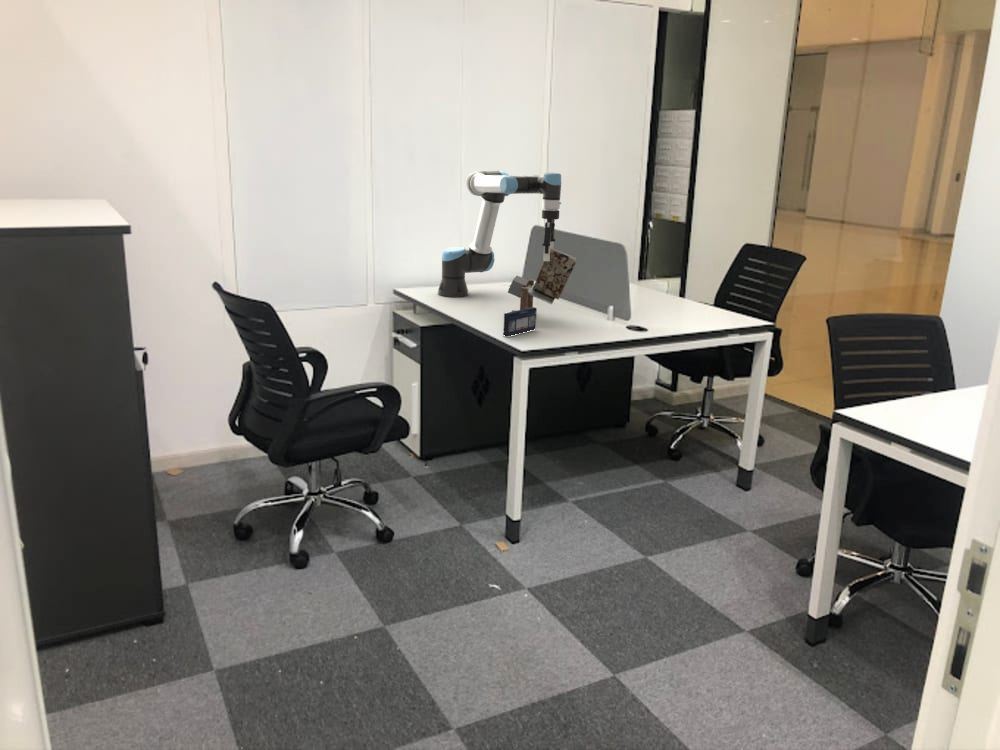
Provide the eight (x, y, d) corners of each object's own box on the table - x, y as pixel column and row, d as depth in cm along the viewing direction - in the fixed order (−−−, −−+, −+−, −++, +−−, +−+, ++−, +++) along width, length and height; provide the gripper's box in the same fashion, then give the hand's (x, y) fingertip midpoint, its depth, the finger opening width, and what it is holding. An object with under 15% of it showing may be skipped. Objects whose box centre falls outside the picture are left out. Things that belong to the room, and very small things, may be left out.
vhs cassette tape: (507, 337, 327) (508, 314, 324) (502, 336, 329) (502, 312, 326) (536, 330, 340) (537, 308, 337) (531, 329, 342) (532, 306, 339)
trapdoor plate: (506, 293, 350) (512, 280, 348) (512, 286, 365) (517, 274, 363) (548, 311, 349) (554, 299, 347) (552, 304, 364) (557, 292, 362)
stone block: (559, 297, 361) (577, 257, 355) (559, 301, 355) (577, 260, 348) (532, 286, 360) (549, 245, 354) (531, 290, 354) (549, 248, 347)
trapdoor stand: (504, 323, 350) (505, 287, 345) (512, 311, 373) (513, 277, 368) (529, 325, 349) (530, 289, 344) (535, 313, 371) (537, 279, 366)
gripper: (556, 212, 332) (553, 263, 338) (562, 207, 355) (559, 254, 362) (538, 211, 333) (536, 262, 339) (545, 206, 357) (542, 253, 363)
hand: (548, 258), depth 351 cm, fingers open, 13 cm apart
